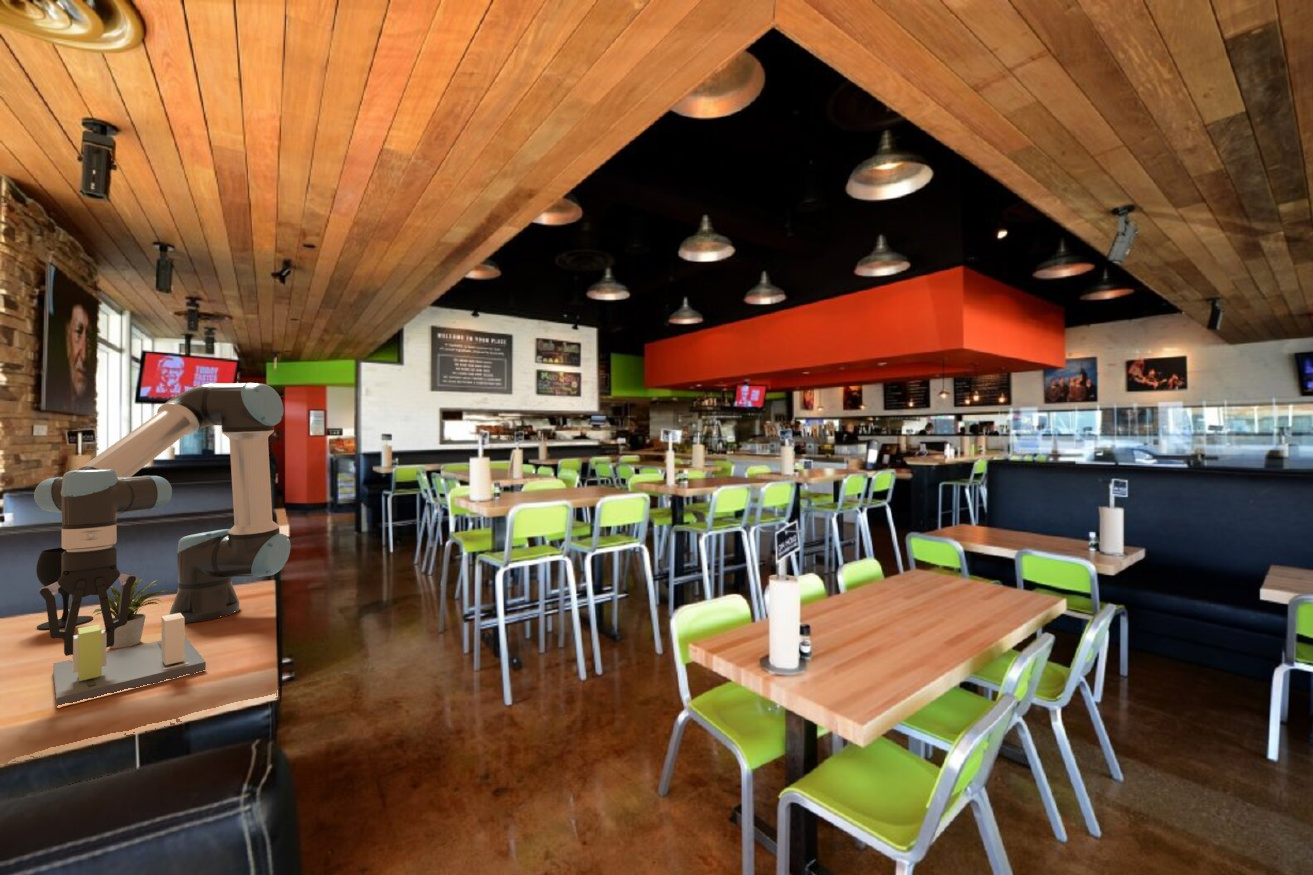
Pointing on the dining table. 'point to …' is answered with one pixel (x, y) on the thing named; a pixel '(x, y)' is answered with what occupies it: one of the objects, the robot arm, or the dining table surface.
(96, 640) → the fader lime
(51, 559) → the wine glass
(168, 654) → the fader cream
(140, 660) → the mixing board
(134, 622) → the house plant
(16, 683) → the dining table surface
